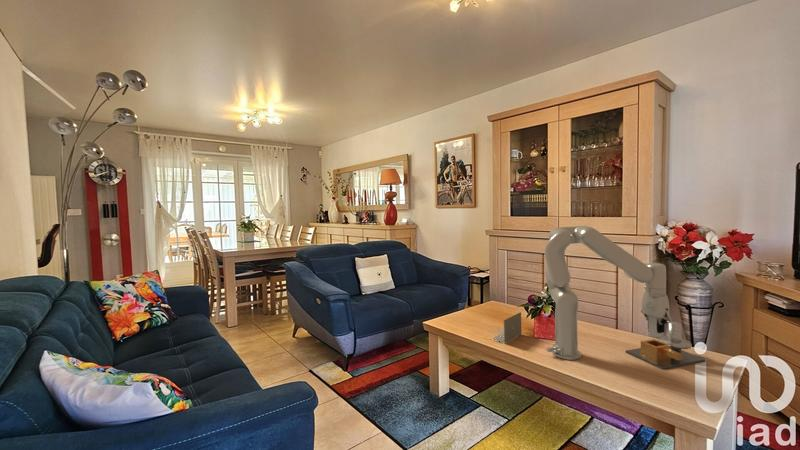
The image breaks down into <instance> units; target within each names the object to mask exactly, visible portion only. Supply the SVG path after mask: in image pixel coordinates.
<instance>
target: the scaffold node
mask: <svg viewBox="0 0 800 450" xmlns="http://www.w3.org/2000/svg"><path fill="white" fill-rule="evenodd" d="M657 338H658V340H657V339H655V338H653V339H647V340H640V347H638V348H635V349H634V348H633V349H628V350H627V349H626V350H625V353H626V354H628V355H630V356H632V357H635V358H636V359H639V360H640V361H643V362H645V363H648V364H650V365H652V366H653V367H656V368H658V369H660V370H668V369H673V368H677V367H684V366H688V365H695V364H699V363H700V364H701V363H704V362H706V358H703V357H701V356H698V355H696V354H693V353H690V352H687V351H685V350H688V349H691V348H692V343H691V341H689V340H687V339H685V338H682V323H681V322H678V321H673V320H672V321H669V322H667V335H662V336H660V337H657Z"/></svg>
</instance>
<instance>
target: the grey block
mask: <svg viewBox="0 0 800 450" xmlns="http://www.w3.org/2000/svg"><path fill="white" fill-rule="evenodd" d="M658 324H659V322H658V318H656V317H653V316H650V315H648V321H647V330H648V333H649V335H650V336H653V337H656V338H659V337H662V336H663V334H665V332H664V333H658Z"/></svg>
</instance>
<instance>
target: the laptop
mask: <svg viewBox="0 0 800 450" xmlns="http://www.w3.org/2000/svg"><path fill="white" fill-rule="evenodd" d="M498 331H499V333H500V332H501V333H500V335H499V334H498V335H497V336H495V335H494V336H495V337H494V338H493V339H494V341H493V342H497V343H499V341H500V342H501V343H500V344H503V343H504V344H503V345H505V343H506V344H507V342H508V343H509V342H511V341H513V340H514V339H516V338H518V337H519V335H520V336H521V335H522V331H523V330H522V312H518V313H516V314H514V315H512V316H509V317H508V318H505V319H504V320H503V328H499V330H497V331H494V332H495V333H496V332H497V333H498ZM494 332H492V333H493V334H494ZM503 333H504V334H503ZM501 334H502V335H503V336H504V337H503V336H502V335H501ZM500 336H501V337H500ZM517 336H518V337H517ZM495 338H496V339H495ZM512 339H513V340H512ZM495 340H497V341H495ZM510 340H511V341H510Z"/></svg>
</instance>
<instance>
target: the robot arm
mask: <svg viewBox="0 0 800 450" xmlns="http://www.w3.org/2000/svg"><path fill="white" fill-rule="evenodd" d="M572 244H583V246H585V247H587V248H588V249H589V250H591V251H592V252H594V253H595V254H596V255H597V256H599V257H600V258H601V259H603V260H604V261H606V262H607V263H609V264H612V265H614V266H616V267H617V268H619V269H621V270H622V271H623V273H624V275H625V276H626V277H628V278H629V279H632V280H634V281H636V282H638V283H641V284H645V285H644V286H643V289H644V290H645V291H644V292H643V294H642V298H641V299H642V300H641V310H640V312H641V313H642V314H643V315H644V317H645V320H646V321H647V322H648V315H650V316H653V317H656V318H658V322H659V324H658V333H664V334H665V329H666V328H665V325H666V324H668V322H670V321H672V322H673V319H672V316H671V315H670V313H671V312H670V302H669V297H668V295H667V267H666V265H665V264H664V263H658V262H650V263H644V262H643V261H641V260H640V259H638V258H637V257H636V256H634V255H633V254H631V253H629V252H628V251H627V250H625V249H624V248H623V247H621V246H619V245H618V244H617V243H615V242H613V241H612V240H611V239H609V238H608V237H607V236H605V235H604V234H603V233H601V232H600V231H598V229H596V228H594V227H592V226H588V225H577V226H563V227H559V226H558V227H555V228H552V229H551V231H549V233H548V241H547V243H546V245H545V249H544V257H545V258H544V259H545V261H546V269H545V273H544V274H545V275H544V276H545V278H546V279H545V280H546V284H547V287H548V290H549V294H550V296H551V299H552V300H553V301H554V302H555V308H554V309H555V310H554V325H555V326H554V328H555V329H554V333H555V337H554V338H555V343H554V344H553V346H552V347H546V351H547V353H551V354H553V355H554V356H555V357H556V358H559V359H563V360H570V361H571V360H572V361H573V360H575V361H576V360H579V359H581V358H582V352H581V351H579V349H578V347H579V346H578V342H579V341H578V310H579V298H578V296H577V294H576V293H575V291H573V290H572V289H571V288H570V282H571V274H570V270H569V267H568V264H567V261H566V254H565V253H566V250H567V248H568V247H569V246H570V245H572ZM553 355H552V356H553Z"/></svg>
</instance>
